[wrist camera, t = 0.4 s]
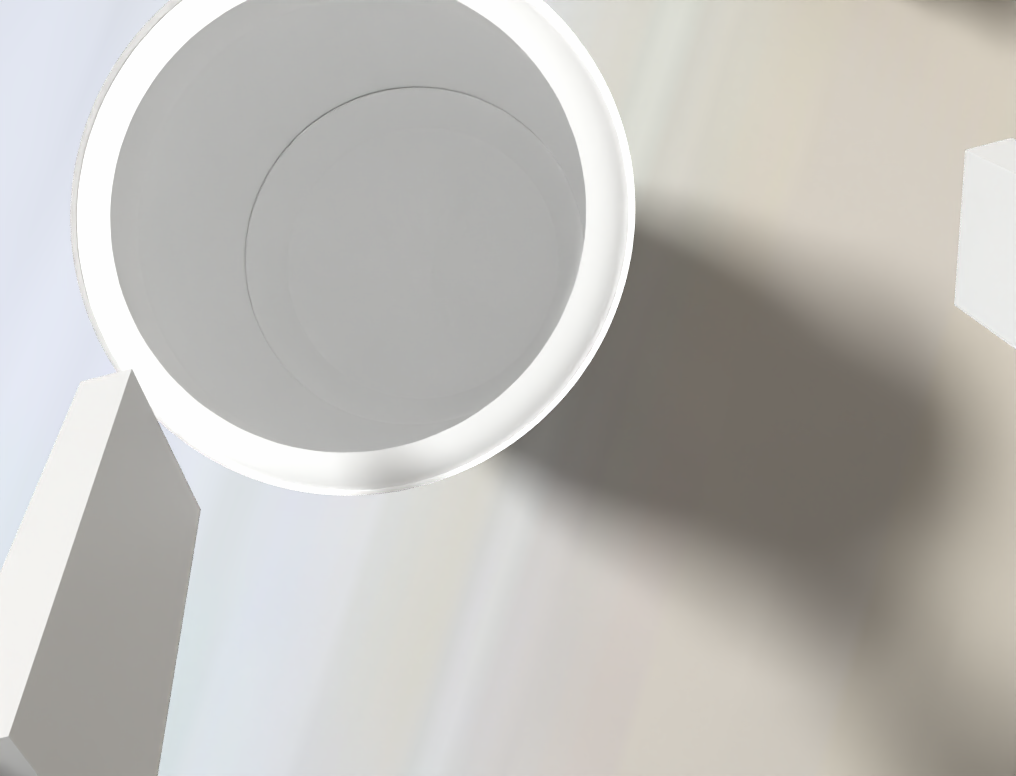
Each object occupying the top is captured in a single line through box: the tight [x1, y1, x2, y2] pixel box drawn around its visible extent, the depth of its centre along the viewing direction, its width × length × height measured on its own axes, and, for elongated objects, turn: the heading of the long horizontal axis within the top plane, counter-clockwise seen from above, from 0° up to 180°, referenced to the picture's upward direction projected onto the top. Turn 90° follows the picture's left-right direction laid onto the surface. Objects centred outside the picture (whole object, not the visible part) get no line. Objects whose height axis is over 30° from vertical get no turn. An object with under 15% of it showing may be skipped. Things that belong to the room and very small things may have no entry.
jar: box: [70, 0, 635, 495], centre depth 24 cm, size 11×10×15 cm
